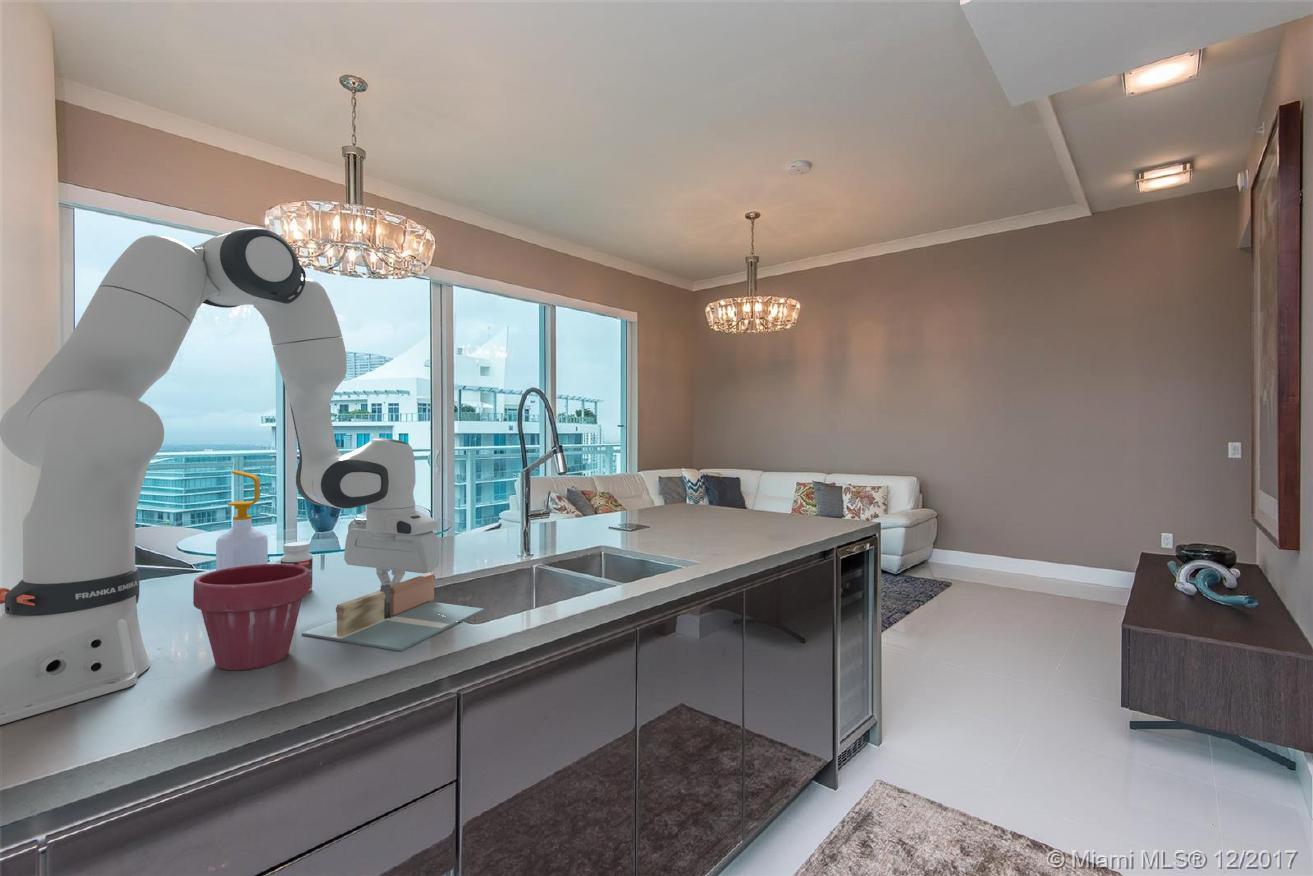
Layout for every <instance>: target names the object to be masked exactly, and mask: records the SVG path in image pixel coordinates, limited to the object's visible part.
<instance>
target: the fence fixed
mask: <svg viewBox="0 0 1313 876" xmlns="http://www.w3.org/2000/svg"><path fill="white" fill-rule="evenodd" d="M384 599H385V594H384V592H381V590H377V591H375V592H371V593H369V594H365V595H363V596H359V597H357V598H353V599H351V600H347V601H345V602H342V603H339V604H337V605H336V606H335V613H336V620H337V635H340V636H345V635H347V634H349V633H352V632H354V631H357V630H359V629H362V628H364V627H367V626H369V625H372V624H374V623H377V622H379V621H382V620H384Z"/></svg>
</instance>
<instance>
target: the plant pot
mask: <svg viewBox="0 0 1313 876" xmlns="http://www.w3.org/2000/svg"><path fill="white" fill-rule="evenodd" d="M192 590H193V591H192V592H193V598H192V600H193V602H192V605H193V606H194V607H195V609H198V610H200V611H201V614H202V618H203V623H204V626H205V630H206V634H207V637H208V641H209V644H210V648H211V652H212V656H213V660H214V663H215V666H216V667H217V668H219V669H221V670H227V671H245V670H254V669H259V668H263V667H267V666H270V665H273V664H276V663H279V662H280V661H282V660H284V659H285V658H286V657H287V656H288V655H289V653H290V650H291V649H290V648H291V644H292V641H293V636H294V634H295V630H296V626H297V622H298V621H297V620H298V617H299V613H300V610H301V605H302V600H303V598H305V597H307V596H308V594H309V592H310V591H309V569H308V568H306V567H303V566H299V565H292V564H281V563H267V564H258V565H247V566H239V567H232V568H226V569H221V570H217V571H216V570H214V571H213V570H212V571H210V572H206V573H204V574H200V575H199V576H196V578H195V579H194V580H193V589H192Z"/></svg>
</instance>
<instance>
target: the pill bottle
mask: <svg viewBox="0 0 1313 876" xmlns="http://www.w3.org/2000/svg"><path fill="white" fill-rule="evenodd" d="M310 549H311V542H309V541H293V542H288V543H284V544H283V552H284V554H283V555H282V556H281V557H280V564H292V565H299V566H303V567H306V568H308V569H309V592H310V591H311V590H313V563H314V562H313V560H314V559H313V555H312V553H311V552H309V551H310Z"/></svg>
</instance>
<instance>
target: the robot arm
mask: <svg viewBox="0 0 1313 876" xmlns="http://www.w3.org/2000/svg"><path fill="white" fill-rule="evenodd" d="M306 276H307V275H306V271H305V269H304V267H303V266H302V265H301V264H300V260H299V259H298V256H297V254H296V253H295V251H294V250H293V247H291V245H290V244H289V243H288V242H287V241H286V240H285V238H283V237H282V236H280V235H279V234H278V233H275V232H274V231H271V230H269V229H266V228H259V227H244V228H239V229H235V230H233V231H231V232H228V233H224V234H220V235H216V236H213V237H211V238H210V239H207V240H206V241H204V242H202V243H200V244H198V245H196V246H193V247H192V246H189V245H187V244H185V243H183V242H182V241H179V240H177V239H174V238H170V237H168V236H162V235H156V234H155V235H153V234H151V235H150V234H149V235H145V236H141V237H138V238H137V239H135V241H133V242H131V244H130V245H129V246H128V247H127V248H126V249H125V250H124V251H123V252H122V253H121V255H120V256H119V257H118V258H117V259H116V261H115V262H114V263H113V264H112V266H111V267H110V269H109V270H108V271H107V273H106V274H105V275H104V277H103V278H102V281H101V282H100V283H99V286H98V287H97V289H96V290H95V293H94V294H93V296H92V298H91V300H90V301H89V303H88V305H87V307H86V308H85V311H84V312H83V314H82V316H81V317H80V318H79V321H78V323H77V324H76V326H75V328H74V330H73V331H72V333H71V334H70V336H69V337H68V338H67V340H66V341H65V342H64V344H63V345H62V347H61V348H60V349H59V350H58V351H57V353H56V354H55V355H54V356H53V357H51V359H50V360H49V361H48V363H47V364H46V365H45V366H44V367H43V369H42V370H41V371H40V373H39V374H38V375H37V376H36V377H35V378H34V380H33V381H32V383H31V384H30V385H29V387H27V389H26V390H25V392H24V393H23V394H22V395H21V397H20V398H19V399H18V400H17V401H16V402H15V403H14V404H13V405H12V406H10V407H9V408H8V409H7V410H6V411H5V412H4V414H3V415H2V417H1V418H0V440H1V443H3V445H4V447H5V448H6V449H8V450H9V451H10V452H11V453H12V454H13V455H14V456H16V457H17V458H18V459H20V460H22V461H24V462H25V463H26V464H29V465H31V466H34V467H37V468H39V469H40V470H39V471H40V472H39V478H38V481H37V482H38V483H37V485H36V490H35V494H34V497H33V501H32V503H31V506H30V508H29V510H28V512H26V515H25V516H24V518H23V521H22V579H21V580H20V581H18V583H17V584H16V585H15V586H13V587H12V588H11V589H9V588H7V587H0V605H3V604H4V613H3V614H2V615H1V616H0V726H1V725H4V724H8V723H12V722H15V721H18V720H22V719H24V718H28V717H32V716H35V715H39V714H43V713H46V712H49V711H53V710H56V709H59V708H62V707H65V706H69V705H73V704H75V703H79V702H82V701H87V700H89V699H93V698H96V697H100V696H103V695H106V694H109V693H112V692H117V691H120V690H123V689H126V688H127V689H128V688H129V687H132V686H134V685H135V684H136V683H137V681H138V677H140V675H141V674H143V673H144V672H146V670H147V669H149V667H150V666H151V661H150V658H149V655H148V653H147V650H146V648H145V645H144V641H143V636H142V633H141V627H140V621H139V615H138V605H137V604H138V603H139V600H140V599H139V598H140V570H139V567H137V566H136V516H137V510H138V506H139V505H138V503H139V499H140V495H141V492H142V489H143V486H144V481H145V478H146V474H147V471H148V468H149V465H150V462H151V460H153V458H154V457H156V455H157V454H158V452H159V451H160V450H161V447H162V445H163V443H164V440H165V427H164V424H163V423H164V422H163V421H162V419H161V417H160V416H159V414H158V412H157V411H156V410H155V409H153V408H152V407H151V406H150V405H148V404H147V403H145V402H144V401H142V400H140V399H141V398H142V397H143V396H144V395H145V393H147V391H148V390H149V389H150V388H151V387H152V386H153V385H154V384H155V383H156V382H157V381H159V380H160V379H161V378H162V377H164V376H165V375H166V374H167V373H168V372H169V370H170V368H171V366H172V364H173V362H174V360H175V357H176V356H177V353H178V352H179V350H180V347H181V345H182V344H183V341H184V339H185V337H186V335H187V333H188V331H189V330H190V327H191V325H192V323H193V321H194V318H195V317H196V314H197V311H198V309H199V308H200V307H201V306H202V304H205V305H207V306H211V307H216V308H225V309H227V308H229V309H230V308H231V309H232V308H236V307H240V306H244V305H246V306H247V305H248V306H249V305H250V306H251V305H252V306H253V308H254V309H256V310H257V311H258V312H259V314H260V315H261V316H262V317H263V320H264V321H265V322H266V325H267V327H268V331H269V337H270V341H271V344H272V350H273V353H274V357H275V359H276V362H277V366H278V369H279V373H280V375H281V378H282V381H283V385H284V388H285V390H286V394H287V397H288V400H289V404H290V411H291V416H292V421H293V425H294V430H295V437H296V441H297V446H298V451H299V453H298V455H299V456H298V457H299V459H298V465H297V469H296V473H295V486H296V489H297V491H298V493H299V495H301V497H302V498H303V499H304V500H305V501H307V502H308V503H311V504H313V505H317V506H326V507H331V508H336V509H341V510H350V509H354V508H359V507H362V506H366V507H365V515H366V516H365V518H358V517H356V518H354V519H353V520H351V521H350V523H348V525H347V534H346V539H345V545H344V553H343V555H344V556H343V558H344V559H343V560H344V561H345V563H346V565H348V566H356V567H365V568H371V569H375V570H376V571H375V572H376V576H377V578H378V579H379V582H380V583H381V585H385V584H389V585H390V586H391V585H394V584H397V583H400V582H402V580H403V578H404V576H405V574H406V572H407V573H417V574H427V573H432V572H434V571H436V570H437V568H438V567H439V564H440V543H439V538H438V536H437V534H436V533H435V531H436V530H437V529H438V521H437V520H436V519H435V518H432V517H431V516H428V515H426V514H424V513H422V512H420V511H419V510H417V509H416V500H415V496H414V489H415V486H416V480H417V479H416V461H415V455H414V454H415V453H414V450H413V448H412V446H411V445H410V444H409V443H408V442H406V441H403V440H399V439H392V438H385V437H375V438H374V437H373V438H371V439H370V440H369V441H368V442H367V443H366V444H364V445H363V446H361V447H358V448H357V449H355V450H352V451H349V452H347V453H344V454H341V452H340V451H339V448H338V446H337V443H336V437H335V432H334V431H335V430H334V428H333V421H332V416H331V403H332V402H331V401H332V398H333V396H334V393H335V392H336V390H337V388H338V387H339V386H340V385H341V384H342V382H343V381H344V379H345V377H346V375H347V369H348V368H347V367H348V365H347V363H348V362H347V352H346V345H345V342H344V339H343V334H342V330H341V326H340V324H339V321H338V317H337V314H336V312H335V309H334V307H333V304H332V302H331V299H330V298H329V295H328V293H327V291H326V289H325V288H324V287H323V285H321V284H320V283H319V282H317V281H316V280H313V279H311V278H308V277H306ZM389 572H391V576H393V577H392V579H391V577H390V575H389ZM381 585H380V586H381Z"/></svg>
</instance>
